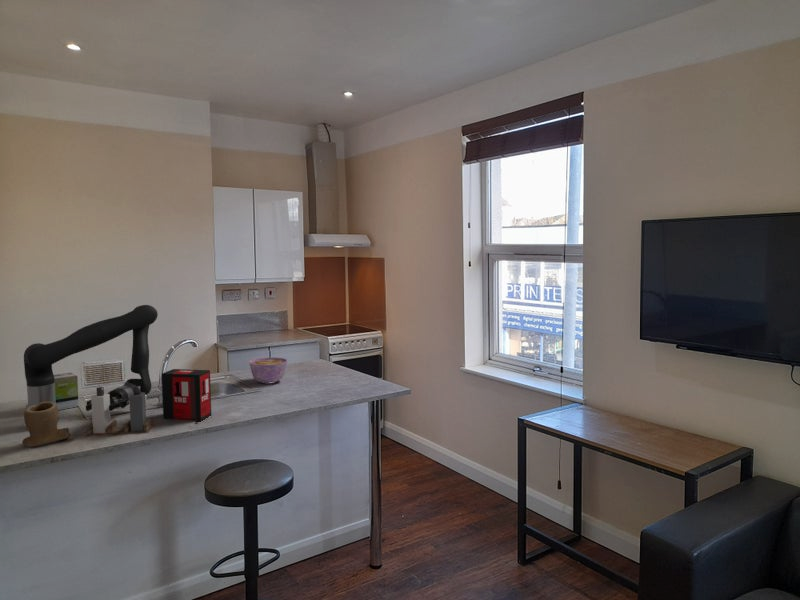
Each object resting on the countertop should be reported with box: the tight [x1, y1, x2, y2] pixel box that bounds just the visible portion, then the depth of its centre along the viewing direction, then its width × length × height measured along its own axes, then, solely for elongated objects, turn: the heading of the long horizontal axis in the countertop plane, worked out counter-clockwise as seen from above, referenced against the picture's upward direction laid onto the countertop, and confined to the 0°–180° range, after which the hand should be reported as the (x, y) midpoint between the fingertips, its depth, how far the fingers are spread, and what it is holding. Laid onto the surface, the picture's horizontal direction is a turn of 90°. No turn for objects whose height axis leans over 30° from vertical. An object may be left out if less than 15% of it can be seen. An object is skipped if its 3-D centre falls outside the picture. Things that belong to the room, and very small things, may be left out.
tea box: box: [53, 372, 79, 411], centre depth 239 cm, size 15×10×15 cm
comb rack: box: [84, 417, 155, 438], centre depth 207 cm, size 22×10×4 cm, turn 102°
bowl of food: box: [248, 356, 288, 383], centre depth 288 cm, size 20×20×12 cm
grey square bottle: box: [129, 386, 147, 432], centre depth 208 cm, size 4×4×17 cm
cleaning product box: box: [161, 368, 212, 422], centre depth 225 cm, size 16×9×20 cm, turn 82°
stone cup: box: [21, 402, 70, 448], centre depth 197 cm, size 15×12×15 cm
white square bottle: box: [90, 386, 112, 433], centre depth 206 cm, size 4×4×17 cm
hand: (98, 408), depth 204 cm, fingers open, 8 cm apart
